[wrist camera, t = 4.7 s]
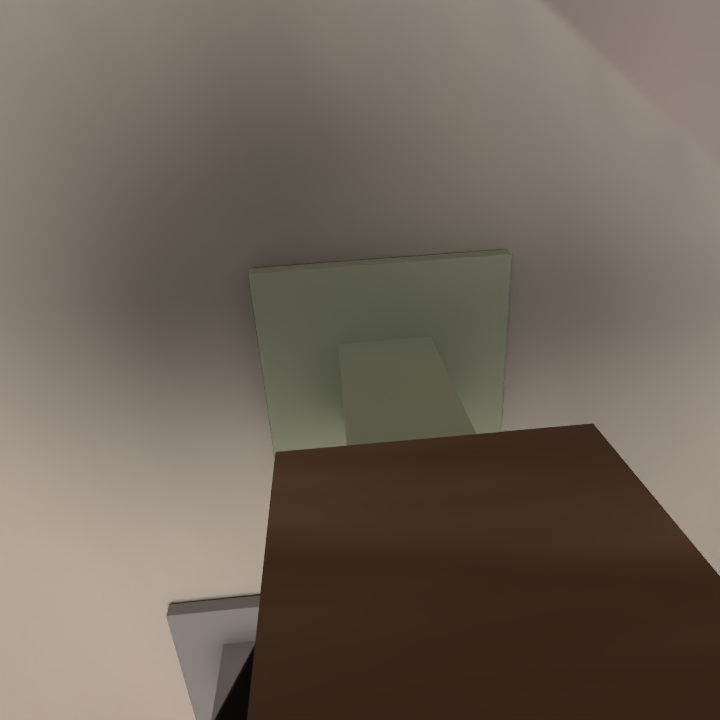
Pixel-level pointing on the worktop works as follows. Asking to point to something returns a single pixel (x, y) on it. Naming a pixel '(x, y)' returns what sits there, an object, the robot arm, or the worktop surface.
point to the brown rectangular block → (480, 586)
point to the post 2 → (383, 348)
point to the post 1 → (212, 647)
